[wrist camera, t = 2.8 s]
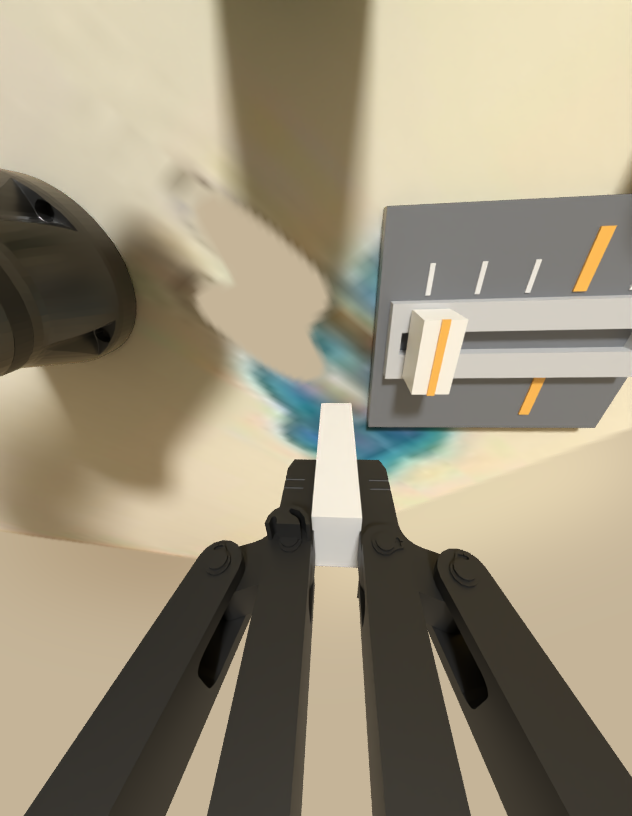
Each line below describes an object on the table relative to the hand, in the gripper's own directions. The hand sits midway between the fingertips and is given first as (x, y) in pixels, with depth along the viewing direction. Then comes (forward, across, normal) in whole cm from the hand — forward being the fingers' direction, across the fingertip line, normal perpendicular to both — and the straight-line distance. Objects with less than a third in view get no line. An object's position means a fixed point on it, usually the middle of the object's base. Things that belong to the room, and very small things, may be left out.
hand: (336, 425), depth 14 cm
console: (+15, +16, 0) cm, 22 cm away
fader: (+13, +8, 0) cm, 15 cm away
